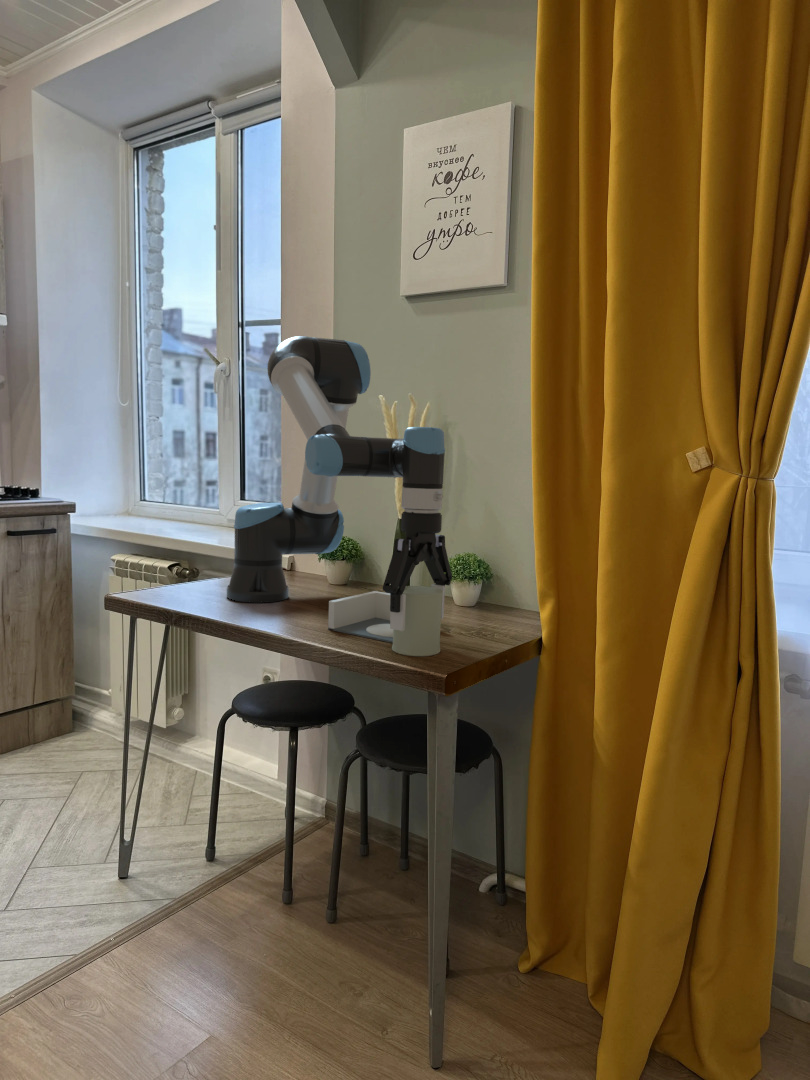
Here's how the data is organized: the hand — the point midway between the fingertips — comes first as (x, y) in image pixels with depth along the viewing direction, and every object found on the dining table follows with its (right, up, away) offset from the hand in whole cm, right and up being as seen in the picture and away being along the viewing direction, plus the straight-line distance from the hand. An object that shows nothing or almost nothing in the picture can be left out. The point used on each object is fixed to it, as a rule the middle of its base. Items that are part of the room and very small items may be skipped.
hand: (417, 623), depth 140 cm
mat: (-7, -3, +16) cm, 18 cm away
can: (0, -5, +1) cm, 5 cm away
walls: (-7, -3, +16) cm, 18 cm away
